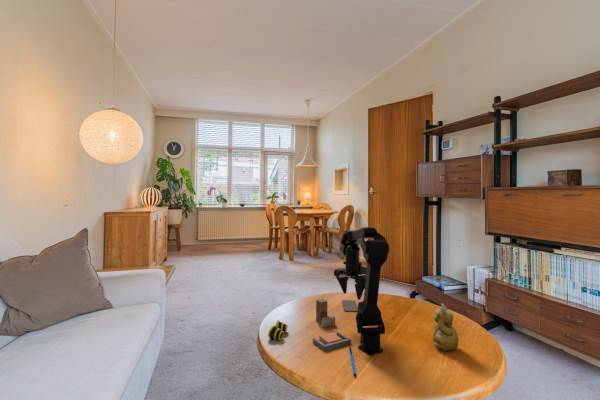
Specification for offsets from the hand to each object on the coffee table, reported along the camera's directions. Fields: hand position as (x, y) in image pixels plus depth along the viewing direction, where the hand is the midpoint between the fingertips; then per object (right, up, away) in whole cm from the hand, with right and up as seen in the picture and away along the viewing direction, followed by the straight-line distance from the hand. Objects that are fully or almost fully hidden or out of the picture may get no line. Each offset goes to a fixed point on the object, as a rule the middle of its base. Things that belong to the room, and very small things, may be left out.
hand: (351, 296), depth 129 cm
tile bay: (-10, -12, -17) cm, 23 cm away
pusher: (-12, -12, +2) cm, 17 cm away
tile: (-11, -12, -15) cm, 22 cm away
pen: (-5, -12, -29) cm, 32 cm away
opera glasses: (-30, -12, -11) cm, 34 cm away
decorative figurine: (+31, -13, -19) cm, 38 cm away
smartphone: (+3, -13, +23) cm, 26 cm away
